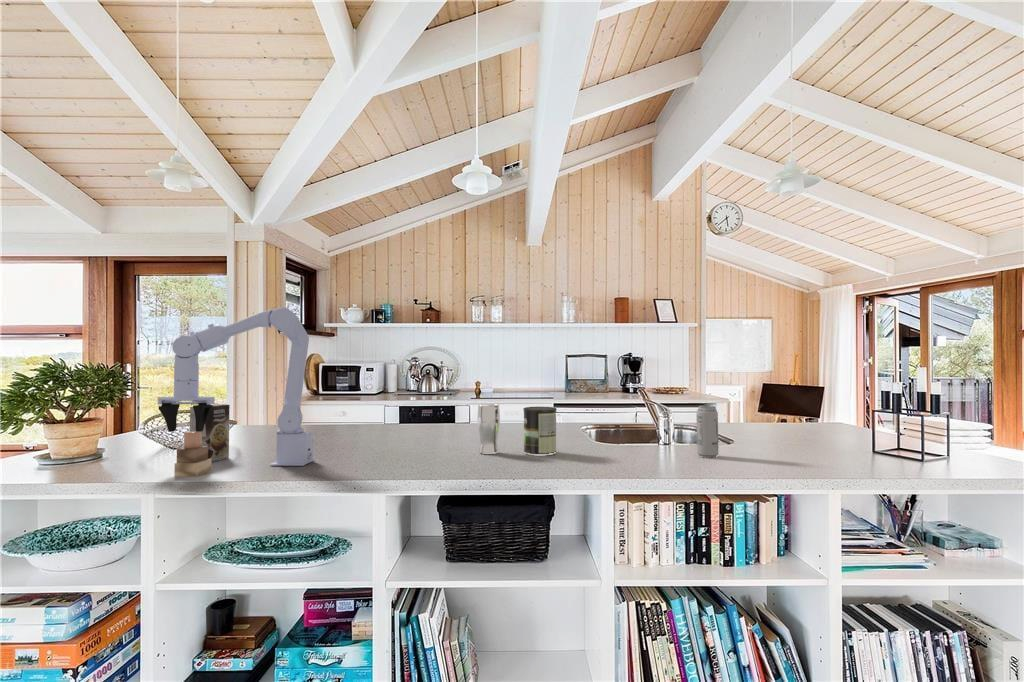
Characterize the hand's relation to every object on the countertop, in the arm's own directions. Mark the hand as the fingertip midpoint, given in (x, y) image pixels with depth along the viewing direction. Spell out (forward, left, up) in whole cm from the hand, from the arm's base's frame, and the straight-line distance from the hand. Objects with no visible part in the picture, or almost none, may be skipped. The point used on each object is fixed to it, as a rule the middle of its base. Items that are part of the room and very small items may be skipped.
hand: (185, 431), depth 146 cm
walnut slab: (-4, +4, -7) cm, 9 cm away
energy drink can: (-145, -24, -11) cm, 147 cm away
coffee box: (+2, -14, -11) cm, 18 cm away
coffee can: (-95, -28, -11) cm, 100 cm away
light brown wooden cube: (-5, +4, -4) cm, 7 cm away
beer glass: (-79, -28, -11) cm, 84 cm away
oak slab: (-5, +4, -11) cm, 12 cm away
